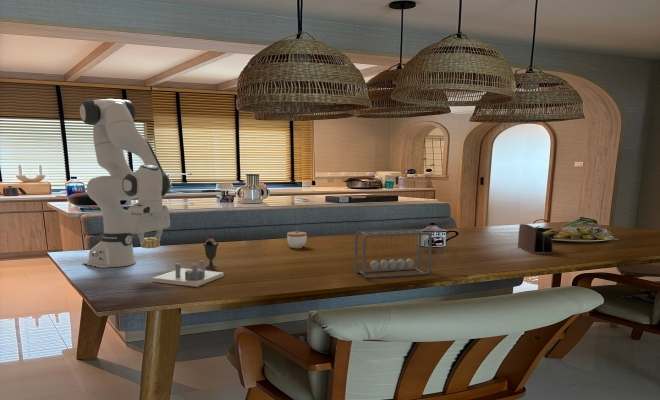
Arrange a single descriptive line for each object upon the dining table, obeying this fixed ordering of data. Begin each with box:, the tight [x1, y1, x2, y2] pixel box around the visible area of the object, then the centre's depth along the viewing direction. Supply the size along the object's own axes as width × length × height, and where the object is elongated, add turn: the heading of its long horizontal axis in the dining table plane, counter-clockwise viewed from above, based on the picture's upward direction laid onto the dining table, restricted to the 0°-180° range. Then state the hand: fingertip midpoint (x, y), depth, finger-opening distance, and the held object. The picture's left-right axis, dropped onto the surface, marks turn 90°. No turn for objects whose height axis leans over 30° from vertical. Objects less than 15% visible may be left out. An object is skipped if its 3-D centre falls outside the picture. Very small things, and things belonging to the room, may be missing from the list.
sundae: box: [202, 232, 220, 269], centre depth 210 cm, size 7×7×15 cm
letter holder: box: [517, 223, 554, 255], centre depth 258 cm, size 10×20×14 cm, turn 2°
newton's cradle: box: [354, 228, 433, 279], centre depth 201 cm, size 30×10×18 cm, turn 107°
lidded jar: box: [286, 229, 308, 249], centre depth 261 cm, size 11×11×9 cm
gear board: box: [151, 259, 225, 288], centre depth 189 cm, size 20×18×7 cm
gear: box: [140, 237, 161, 249], centre depth 190 cm, size 7×7×3 cm
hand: (150, 242), depth 190 cm, fingers closed on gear, 7 cm apart
